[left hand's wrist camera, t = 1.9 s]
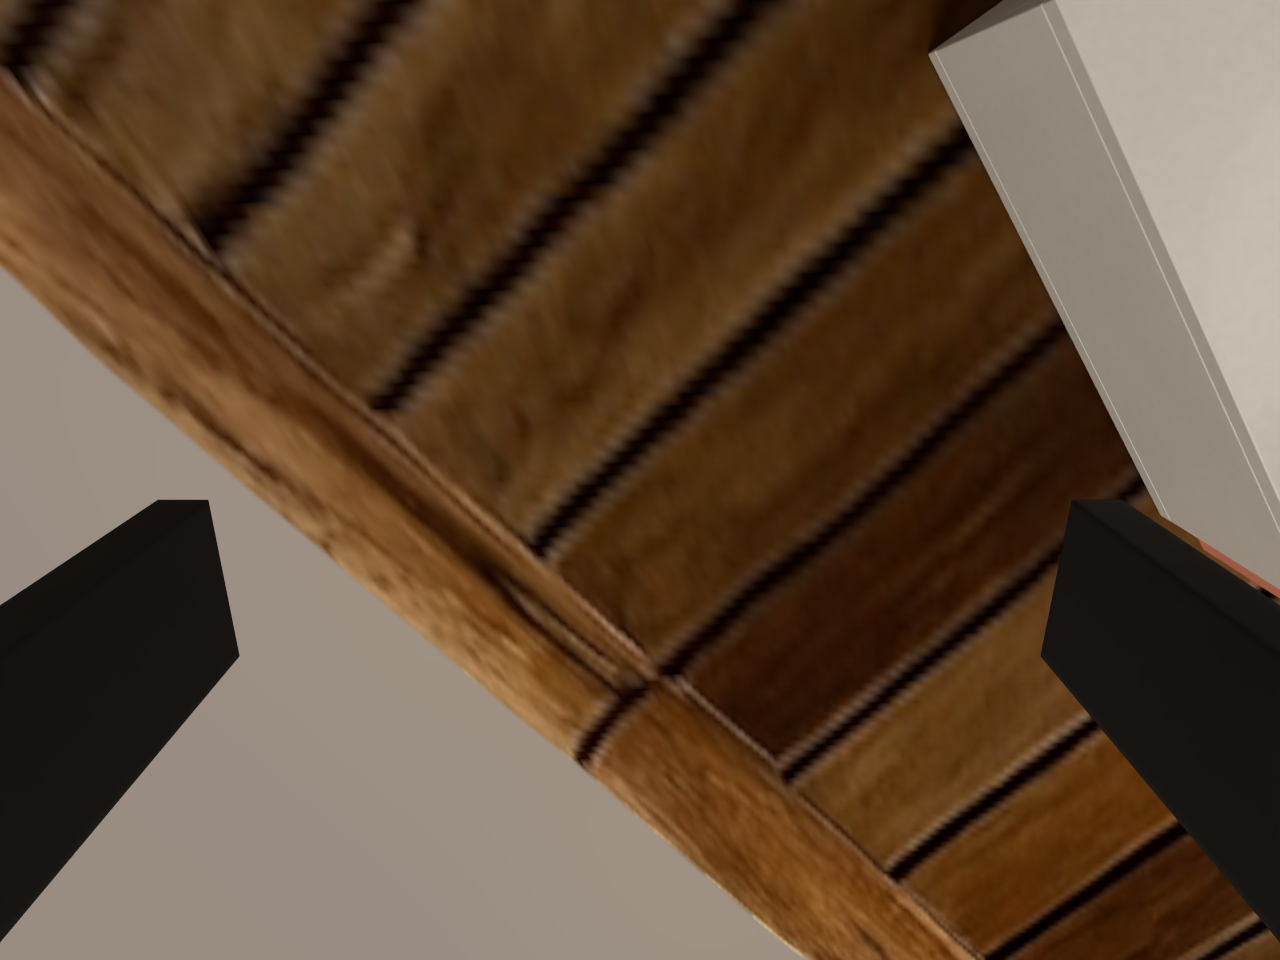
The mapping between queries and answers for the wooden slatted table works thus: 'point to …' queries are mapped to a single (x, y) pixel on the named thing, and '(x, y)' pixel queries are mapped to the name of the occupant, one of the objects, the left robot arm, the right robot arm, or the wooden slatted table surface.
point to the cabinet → (1151, 228)
